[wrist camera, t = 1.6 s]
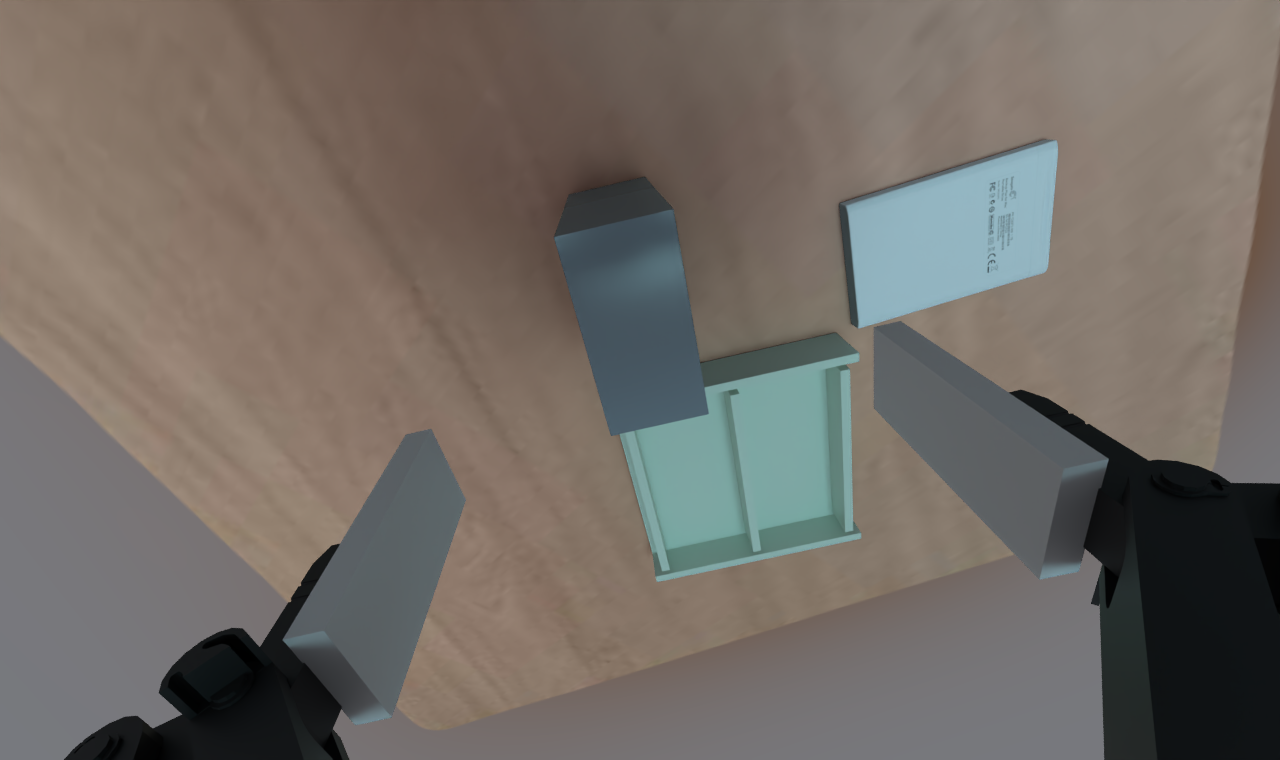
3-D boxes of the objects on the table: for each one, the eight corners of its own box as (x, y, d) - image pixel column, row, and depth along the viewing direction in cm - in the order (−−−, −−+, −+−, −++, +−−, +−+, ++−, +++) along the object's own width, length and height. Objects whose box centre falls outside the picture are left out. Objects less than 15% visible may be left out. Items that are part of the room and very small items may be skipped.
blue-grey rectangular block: (568, 194, 29) (553, 237, 19) (644, 176, 29) (673, 209, 19) (605, 335, 34) (611, 435, 23) (672, 320, 33) (708, 414, 23)
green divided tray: (607, 384, 35) (608, 409, 32) (836, 332, 35) (858, 352, 32) (652, 549, 42) (657, 582, 39) (841, 508, 42) (860, 538, 39)
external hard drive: (835, 202, 31) (1039, 138, 30) (848, 321, 35) (1030, 268, 34) (847, 205, 30) (1061, 139, 29) (859, 330, 34) (1049, 274, 33)
